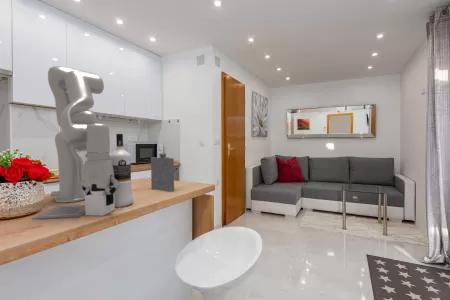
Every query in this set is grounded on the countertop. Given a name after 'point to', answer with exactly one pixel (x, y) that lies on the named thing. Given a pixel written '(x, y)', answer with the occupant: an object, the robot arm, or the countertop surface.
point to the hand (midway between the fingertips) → (100, 203)
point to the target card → (63, 212)
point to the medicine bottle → (97, 202)
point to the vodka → (122, 174)
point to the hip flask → (162, 173)
